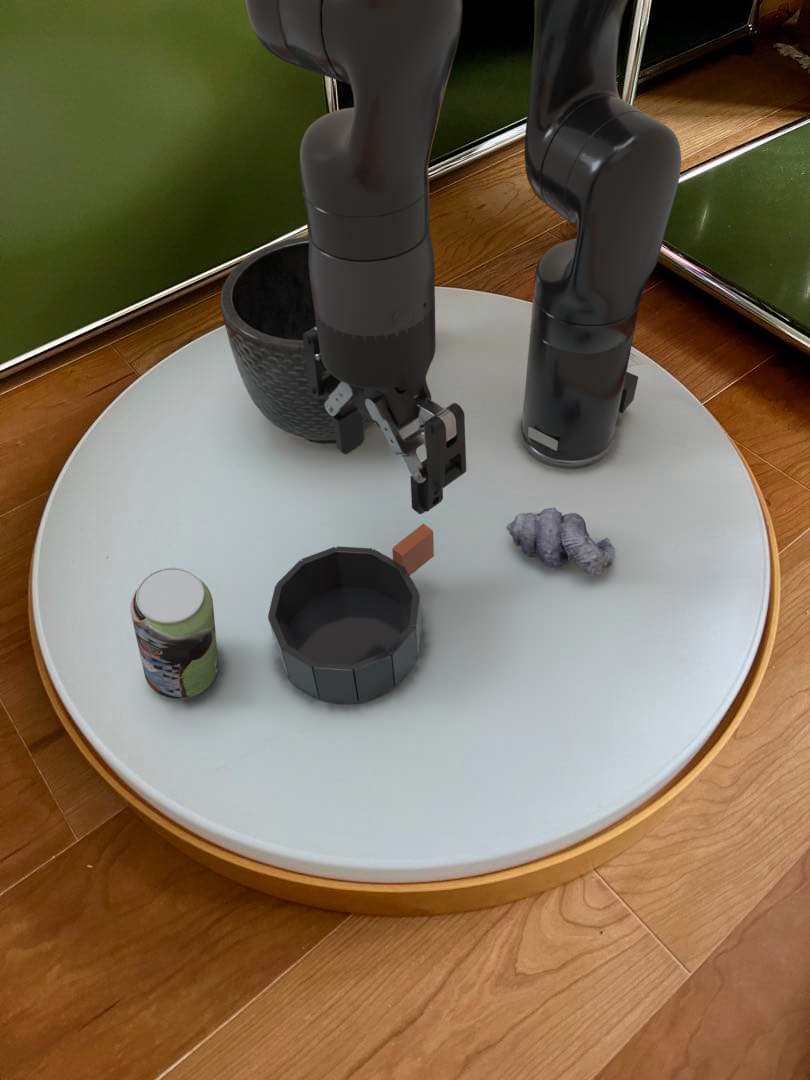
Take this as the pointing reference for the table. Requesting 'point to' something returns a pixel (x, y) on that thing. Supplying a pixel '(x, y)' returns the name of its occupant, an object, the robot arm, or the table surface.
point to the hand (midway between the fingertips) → (387, 475)
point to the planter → (277, 337)
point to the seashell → (560, 540)
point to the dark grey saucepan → (351, 619)
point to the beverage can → (175, 632)
